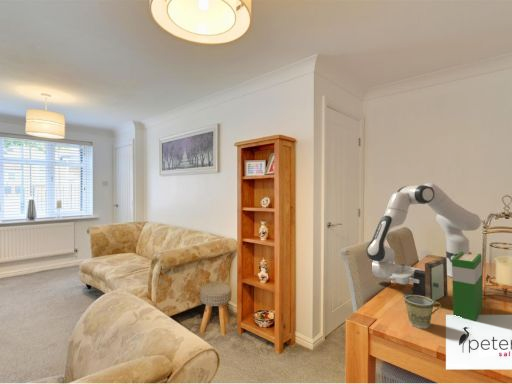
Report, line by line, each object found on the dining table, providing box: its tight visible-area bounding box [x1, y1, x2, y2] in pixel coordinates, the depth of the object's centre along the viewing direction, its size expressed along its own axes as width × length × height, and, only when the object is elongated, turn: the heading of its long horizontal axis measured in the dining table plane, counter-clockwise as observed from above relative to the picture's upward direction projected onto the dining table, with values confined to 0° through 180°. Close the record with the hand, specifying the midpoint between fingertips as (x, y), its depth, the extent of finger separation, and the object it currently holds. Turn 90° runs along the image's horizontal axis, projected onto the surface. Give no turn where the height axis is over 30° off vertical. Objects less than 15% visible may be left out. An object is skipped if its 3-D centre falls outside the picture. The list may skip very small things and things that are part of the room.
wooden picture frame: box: [424, 256, 448, 300], centre depth 131 cm, size 19×2×19 cm, turn 125°
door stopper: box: [411, 269, 426, 297], centre depth 137 cm, size 9×6×12 cm, turn 124°
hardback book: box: [451, 252, 484, 322], centre depth 118 cm, size 18×7×24 cm, turn 133°
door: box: [432, 263, 445, 302], centre depth 131 cm, size 14×3×16 cm, turn 125°
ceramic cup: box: [404, 295, 442, 330], centre depth 108 cm, size 13×10×10 cm
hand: (424, 279), depth 136 cm, fingers open, 8 cm apart
